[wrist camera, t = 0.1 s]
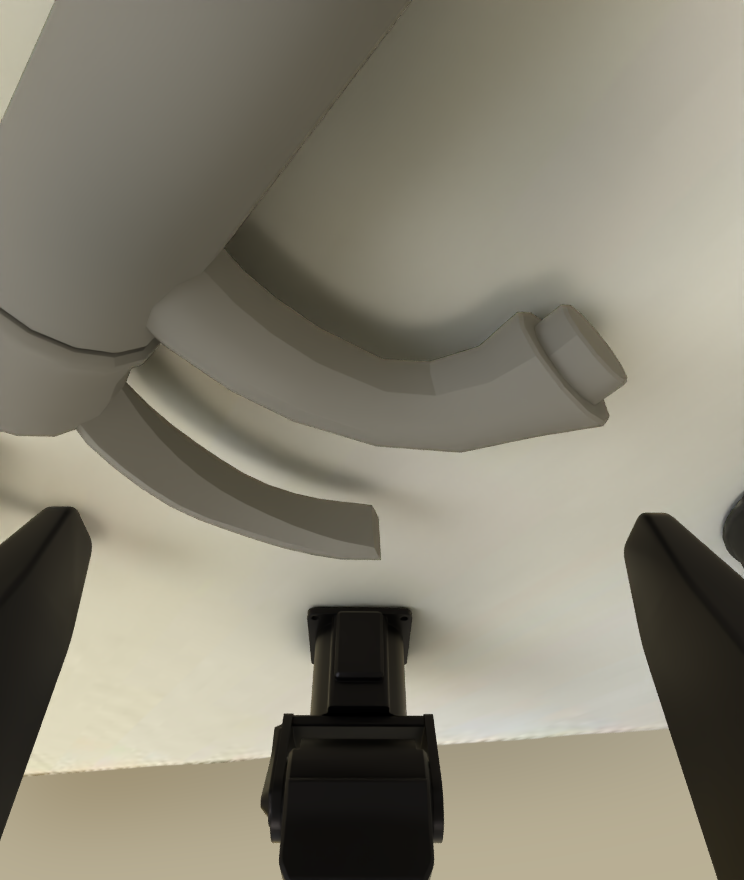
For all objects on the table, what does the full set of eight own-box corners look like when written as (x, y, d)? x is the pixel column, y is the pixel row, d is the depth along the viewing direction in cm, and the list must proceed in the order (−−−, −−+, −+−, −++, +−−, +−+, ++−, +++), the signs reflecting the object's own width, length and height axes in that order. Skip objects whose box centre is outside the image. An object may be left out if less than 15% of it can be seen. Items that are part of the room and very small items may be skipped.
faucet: (843, 145, 20) (346, 525, 33) (402, -694, 10) (-66, 307, 23) (1007, 229, 15) (348, 639, 28) (459, -1222, 5) (-177, 423, 18)
